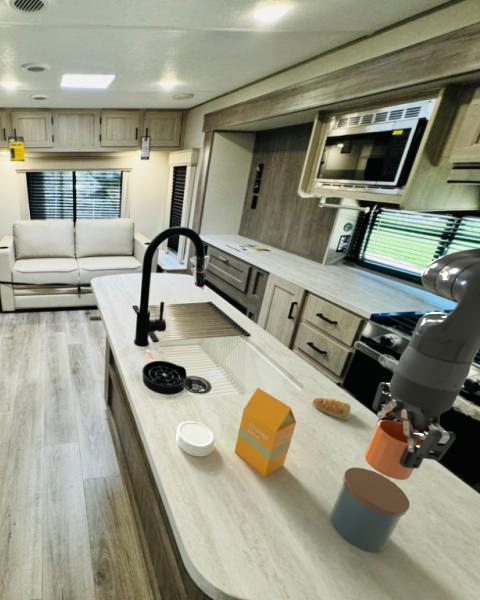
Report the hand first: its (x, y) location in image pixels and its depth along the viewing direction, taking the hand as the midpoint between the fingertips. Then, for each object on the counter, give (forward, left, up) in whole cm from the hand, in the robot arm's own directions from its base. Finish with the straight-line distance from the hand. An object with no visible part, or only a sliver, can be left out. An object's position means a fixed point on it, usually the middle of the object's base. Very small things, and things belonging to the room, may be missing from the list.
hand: (393, 450), depth 58 cm
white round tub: (+31, -17, -22) cm, 42 cm away
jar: (0, 0, -22) cm, 22 cm away
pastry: (-13, -39, -22) cm, 47 cm away
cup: (0, 0, -4) cm, 4 cm away
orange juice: (+15, -15, -22) cm, 31 cm away
